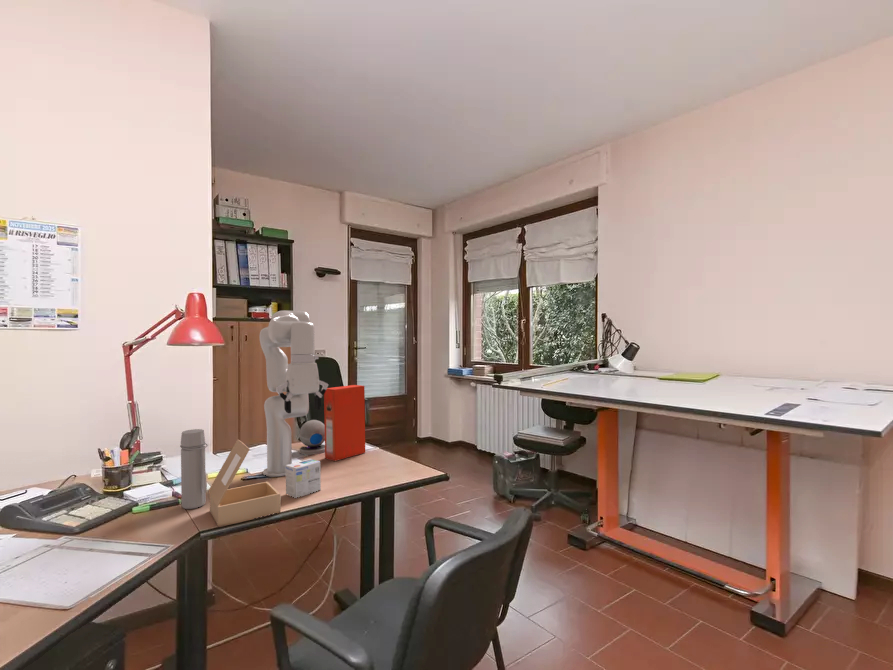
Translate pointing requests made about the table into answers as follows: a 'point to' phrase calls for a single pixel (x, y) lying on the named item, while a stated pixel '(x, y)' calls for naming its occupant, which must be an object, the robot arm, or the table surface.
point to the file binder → (344, 421)
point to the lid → (228, 471)
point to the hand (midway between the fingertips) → (303, 410)
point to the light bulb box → (303, 478)
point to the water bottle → (193, 469)
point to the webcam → (312, 437)
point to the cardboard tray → (246, 504)
